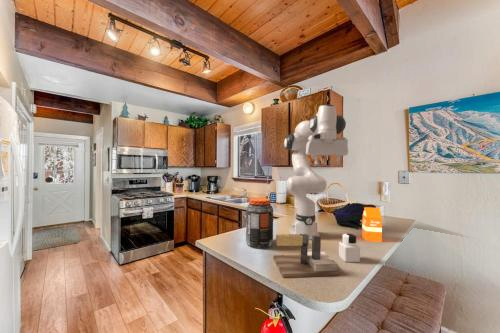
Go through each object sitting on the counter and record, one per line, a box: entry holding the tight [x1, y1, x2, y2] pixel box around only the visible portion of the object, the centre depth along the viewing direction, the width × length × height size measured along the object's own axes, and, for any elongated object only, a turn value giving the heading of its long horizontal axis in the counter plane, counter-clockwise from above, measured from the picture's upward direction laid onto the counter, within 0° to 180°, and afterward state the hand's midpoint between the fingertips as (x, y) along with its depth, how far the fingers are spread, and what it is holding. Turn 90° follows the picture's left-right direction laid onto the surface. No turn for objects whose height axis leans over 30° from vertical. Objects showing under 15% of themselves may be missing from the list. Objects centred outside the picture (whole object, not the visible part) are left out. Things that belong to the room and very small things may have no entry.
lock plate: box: [272, 235, 341, 279], centre depth 96 cm, size 18×24×14 cm
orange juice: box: [361, 207, 383, 243], centre depth 135 cm, size 8×9×20 cm
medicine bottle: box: [338, 232, 361, 263], centre depth 105 cm, size 7×7×12 cm
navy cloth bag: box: [332, 202, 377, 230], centre depth 162 cm, size 21×26×30 cm
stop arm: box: [275, 233, 310, 247], centre depth 96 cm, size 14×4×4 cm, turn 96°
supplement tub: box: [245, 197, 274, 249], centre depth 124 cm, size 16×16×26 cm
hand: (326, 164), depth 107 cm, fingers open, 8 cm apart
